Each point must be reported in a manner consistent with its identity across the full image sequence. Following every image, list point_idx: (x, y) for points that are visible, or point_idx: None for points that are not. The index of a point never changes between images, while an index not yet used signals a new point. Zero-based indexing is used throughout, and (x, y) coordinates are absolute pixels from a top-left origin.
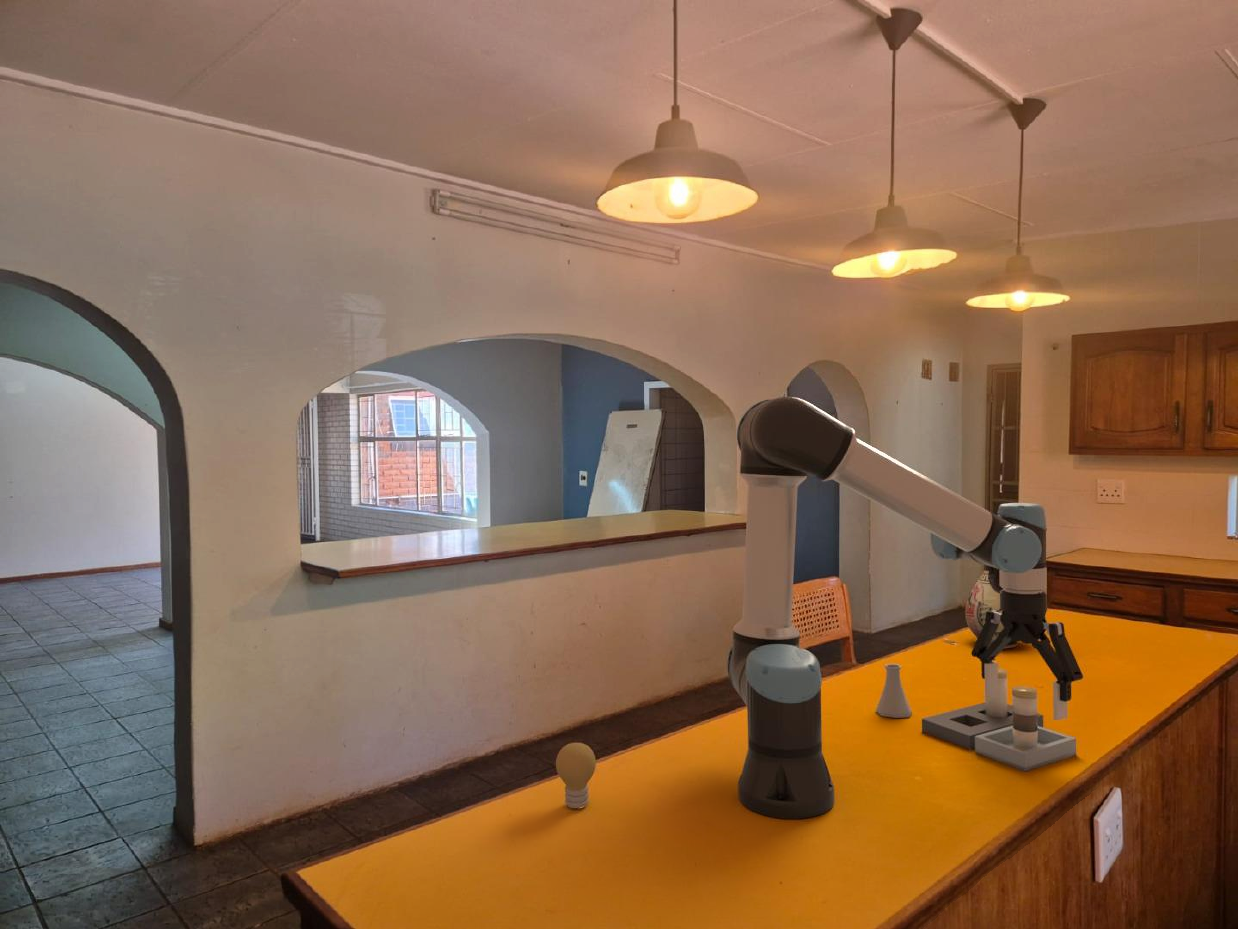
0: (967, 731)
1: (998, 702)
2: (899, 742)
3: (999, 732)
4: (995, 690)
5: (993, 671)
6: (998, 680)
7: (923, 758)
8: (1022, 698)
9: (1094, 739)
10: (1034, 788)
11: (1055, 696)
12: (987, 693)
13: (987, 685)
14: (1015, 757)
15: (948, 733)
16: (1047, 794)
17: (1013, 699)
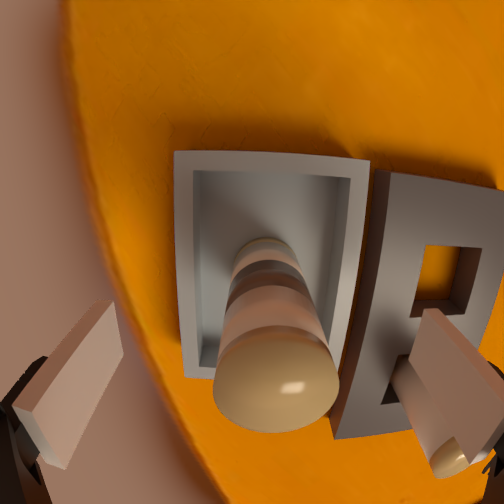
0: (414, 202)
1: (419, 391)
2: (486, 83)
3: (342, 259)
4: (424, 364)
5: (467, 413)
6: (443, 437)
7: (398, 25)
8: (251, 330)
9: (231, 435)
10: (113, 83)
11: (56, 357)
12: (438, 320)
13: (455, 339)
14: (212, 150)
15: (448, 180)
16: (81, 84)
17: (305, 320)
